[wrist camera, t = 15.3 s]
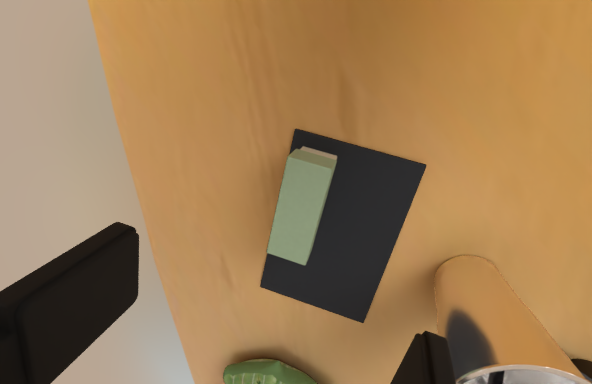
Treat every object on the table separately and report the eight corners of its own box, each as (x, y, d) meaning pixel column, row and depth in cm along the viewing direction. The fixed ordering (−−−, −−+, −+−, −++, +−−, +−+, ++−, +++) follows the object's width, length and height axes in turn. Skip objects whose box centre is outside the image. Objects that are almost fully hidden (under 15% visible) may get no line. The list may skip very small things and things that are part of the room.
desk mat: (295, 128, 33) (294, 128, 33) (426, 164, 31) (426, 165, 31) (260, 285, 41) (259, 286, 41) (363, 321, 39) (363, 323, 39)
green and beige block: (301, 142, 33) (287, 156, 28) (340, 153, 32) (332, 169, 27) (281, 227, 37) (266, 252, 32) (315, 238, 36) (305, 266, 31)
